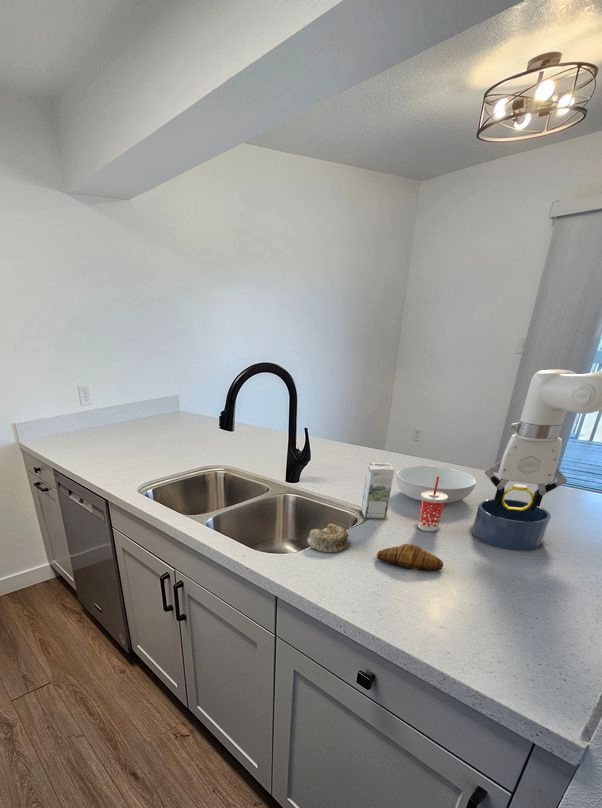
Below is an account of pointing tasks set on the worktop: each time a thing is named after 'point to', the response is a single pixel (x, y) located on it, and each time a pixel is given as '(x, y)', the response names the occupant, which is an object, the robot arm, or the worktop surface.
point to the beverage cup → (431, 509)
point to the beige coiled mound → (328, 539)
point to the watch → (520, 488)
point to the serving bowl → (425, 478)
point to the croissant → (410, 557)
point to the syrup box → (377, 490)
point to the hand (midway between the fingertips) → (515, 505)
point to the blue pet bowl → (510, 525)
